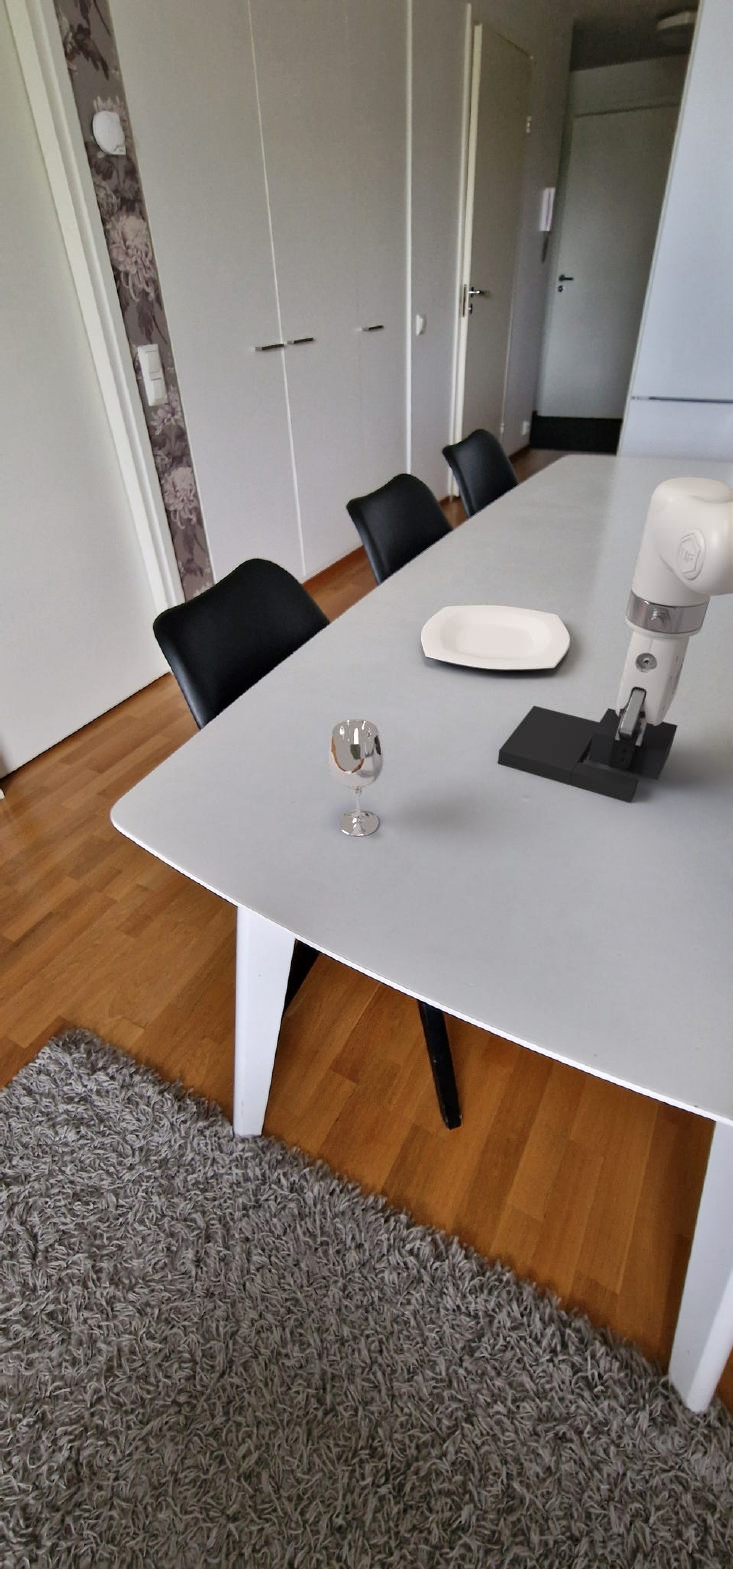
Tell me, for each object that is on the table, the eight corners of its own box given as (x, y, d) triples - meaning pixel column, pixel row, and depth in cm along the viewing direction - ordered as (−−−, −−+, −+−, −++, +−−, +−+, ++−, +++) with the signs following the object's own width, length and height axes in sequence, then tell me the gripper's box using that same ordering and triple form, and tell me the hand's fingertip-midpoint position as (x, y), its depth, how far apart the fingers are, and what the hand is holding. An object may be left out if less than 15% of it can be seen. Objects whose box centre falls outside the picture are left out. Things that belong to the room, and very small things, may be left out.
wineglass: (322, 830, 77) (315, 738, 69) (348, 801, 81) (343, 711, 73) (369, 846, 74) (367, 753, 67) (393, 815, 78) (393, 724, 71)
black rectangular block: (669, 753, 83) (677, 725, 81) (657, 780, 79) (666, 750, 77) (602, 735, 87) (608, 707, 84) (587, 760, 83) (593, 731, 80)
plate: (567, 687, 101) (569, 674, 99) (408, 672, 105) (408, 660, 104) (569, 621, 118) (570, 610, 117) (433, 611, 123) (433, 600, 122)
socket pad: (654, 750, 87) (658, 737, 86) (630, 803, 79) (633, 789, 78) (532, 718, 94) (533, 705, 93) (497, 763, 86) (499, 750, 85)
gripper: (687, 651, 64) (644, 804, 75) (719, 587, 76) (678, 728, 87) (605, 634, 68) (576, 783, 79) (648, 576, 79) (617, 712, 90)
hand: (630, 753), depth 83 cm, fingers closed on black rectangular block, 6 cm apart
